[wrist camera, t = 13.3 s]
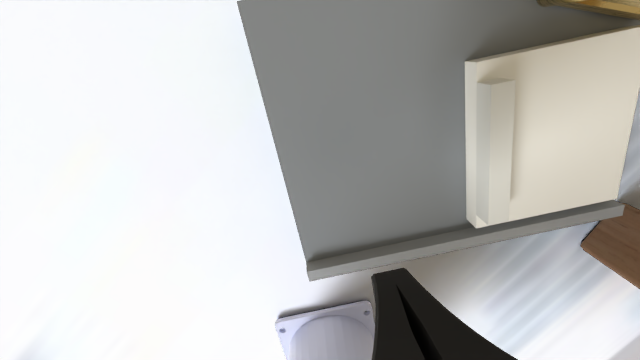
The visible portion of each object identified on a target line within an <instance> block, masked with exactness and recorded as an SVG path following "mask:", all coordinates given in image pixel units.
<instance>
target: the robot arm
mask: <svg viewBox="0 0 640 360" xmlns="http://www.w3.org/2000/svg"><path fill="white" fill-rule="evenodd" d="M371 279H372V285H373V291H374V297H375V303H376V320H375V322H374V316H373V311H372V306H371V303H370V302H369V301H360V302H356V303H351V304H346V305H341V306H337V307H332V308H327V309H322V310H317V311H313V312H308V313H303V314H298V315H294V316H289V317H284V318H280V319H277V320H276V322H275V328H276V331H277V334H278V337H279V340H280V342H281V345H282V348H283V351H284V354H285V357H286V359H287V360H518V359H516V358H514V357H513V356H511V355H509V354H508V353H506V352H504V351H503V350H501V349H500V348H498V347H497V346H495V345H494V344H492V343H491V342H489V341H488V340H486V339H485V338H484V337H482V336H481V335H479V334H478V333H476V332H475V331H474V330H472V329H471V328H470V327H468V326H467V325H466V324H465V323H463V322H462V321H461V320H460V319H458V318H457V317H456V316H455V315H453V314H452V313H451V312H450V311H449V310H447V309H446V308H445V307H444V306H443V305H442V304H441V303H440V302H438V301H437V300H436V299H435V298H434V297H433V296H432V295H431V294H430V293H429V292H428V291H427V290H426V289H425V288H424V287H423V286H422V285H421V284H420V283H419V282H418V281H417V280H416V279H415V278H414V277H413V276H412V275H411V274H410V273H409V272H408V270H407V269H405V268H401V269H396V270H391V271H386V272H382V273H377V274H373V276H372V277H371ZM365 311H367V312H365ZM281 328H284V329H281Z"/></svg>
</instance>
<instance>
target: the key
mask: <svg viewBox="0 0 640 360" xmlns="http://www.w3.org/2000/svg"><path fill="white" fill-rule="evenodd" d="M537 3H538V4H539V5H540V6H542V7H550V6H562V7H567V8H573V9H579V10H584V11H590V12H595V13H601V14H607V15H612V16H618V17H624V18H629V19H635V20H640V0H537Z"/></svg>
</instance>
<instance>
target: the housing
mask: <svg viewBox="0 0 640 360" xmlns="http://www.w3.org/2000/svg"><path fill="white" fill-rule="evenodd" d="M237 4H238V8H239V12H240V16H241V19H242V23H243V27H244V31H245V34H246V38H247V42H248V46H249V49H250V53H251V57H252V61H253V64H254V68H255V72H256V76H257V79H258V83H259V87H260V90H261V94H262V98H263V102H264V105H265V109H266V113H267V117H268V120H269V124H270V128H271V132H272V135H273V139H274V143H275V147H276V150H277V154H278V158H279V162H280V165H281V169H282V173H283V177H284V180H285V184H286V188H287V192H288V195H289V199H290V203H291V207H292V210H293V214H294V218H295V222H296V225H297V229H298V233H299V237H300V240H301V244H302V248H303V251H304V255H305V259H306V264H307V274H308V278H309V281H314V280H319V279H324V278H328V277H333V276H338V275H343V274H347V273H352V272H357V271H362V270H366V269H371V268H376V267H381V266H385V265H390V264H395V263H400V262H404V261H409V260H414V259H419V258H423V257H428V256H433V255H438V254H442V253H447V252H452V251H457V250H461V249H466V248H471V247H476V246H480V245H485V244H490V243H495V242H499V241H504V240H509V239H514V238H518V237H523V236H528V235H533V234H537V233H542V232H547V231H552V230H556V229H561V228H566V227H571V226H575V225H580V224H585V223H590V222H594V221H599V220H604V219H609V218H613V217H618V216H623V211H624V207H625V205H624V204H622V203H620V202H617V201H615V200H609V201H604V202H599V203H594V204H590V205H585V206H580V207H575V208H571V209H566V210H561V211H556V212H552V213H547V214H542V215H538V216H533V217H528V218H523V219H519V220H514V221H509V222H504V223H500V224H495V225H490V226H485V227H481V228H475V227H474V226H473V225H472V224H471V223H470V222H469V221H468V220H467V218H466V135H465V61H469V60H474V59H479V58H483V57H488V56H493V55H497V54H502V53H507V52H511V51H516V50H520V49H525V48H530V47H534V46H539V45H544V44H548V43H553V42H558V41H562V40H567V39H571V38H576V37H581V36H585V35H590V34H595V33H599V32H604V31H609V30H613V29H618V28H622V27H627V26H637V25H640V20H635V19H629V18H624V17H618V16H612V15H607V14H601V13H595V12H590V11H584V10H579V9H573V8H567V7H562V6H550V7H542V6H540V5H539V4H538V3H537V0H241V1H237Z"/></svg>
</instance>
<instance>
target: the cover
mask: <svg viewBox="0 0 640 360" xmlns="http://www.w3.org/2000/svg"><path fill="white" fill-rule="evenodd" d="M639 88H640V25H637V26H627V27H622V28H618V29H613V30H609V31H604V32H599V33H595V34H590V35H585V36H581V37H576V38H571V39H567V40H562V41H558V42H553V43H548V44H544V45H539V46H534V47H530V48H525V49H520V50H516V51H511V52H507V53H502V54H497V55H493V56H488V57H483V58H479V59H474V60H469V61H465V135H466V218H467V220H468V221H469V222H470V223H471V224H472V225H473V226H474V227H475V228H481V227H485V226H490V225H495V224H500V223H504V222H509V221H514V220H519V219H523V218H528V217H533V216H538V215H542V214H547V213H552V212H556V211H561V210H566V209H571V208H575V207H580V206H585V205H590V204H594V203H599V202H604V201H609V200H613V199H617V196H618V191H619V186H620V181H621V176H622V171H623V166H624V162H625V157H626V152H627V147H628V142H629V137H630V132H631V127H632V123H633V118H634V113H635V108H636V103H637V98H638V93H639Z"/></svg>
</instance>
